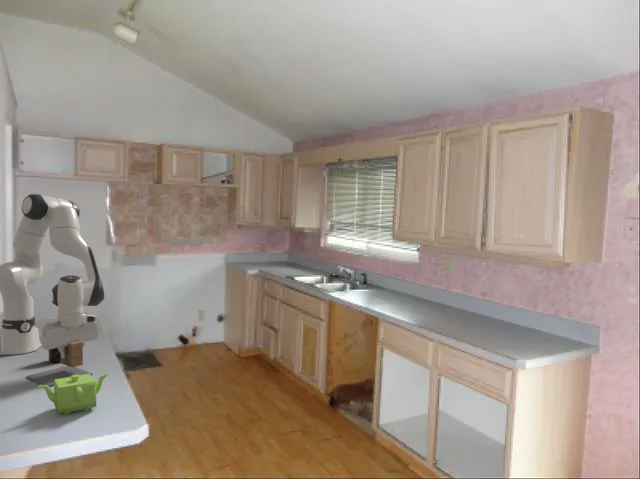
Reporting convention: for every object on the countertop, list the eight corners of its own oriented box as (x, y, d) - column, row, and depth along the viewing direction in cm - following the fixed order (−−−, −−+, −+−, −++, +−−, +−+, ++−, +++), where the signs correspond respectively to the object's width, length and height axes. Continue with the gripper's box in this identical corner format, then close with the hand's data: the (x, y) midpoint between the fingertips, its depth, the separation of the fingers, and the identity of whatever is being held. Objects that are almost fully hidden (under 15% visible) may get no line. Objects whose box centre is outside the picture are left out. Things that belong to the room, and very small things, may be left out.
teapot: (37, 416, 144) (37, 381, 144) (64, 399, 158) (64, 367, 157) (87, 419, 143) (86, 384, 143) (109, 402, 157) (109, 369, 156)
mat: (26, 377, 177) (26, 375, 177) (70, 366, 190) (69, 365, 190) (48, 387, 168) (48, 385, 168) (92, 375, 181) (92, 373, 181)
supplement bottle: (59, 363, 193) (59, 334, 193) (44, 362, 195) (44, 333, 194) (71, 358, 200) (71, 330, 199) (57, 357, 201) (56, 329, 201)
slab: (60, 363, 183) (60, 339, 183) (71, 360, 186) (70, 337, 186) (72, 367, 179) (71, 343, 178) (82, 364, 182) (82, 341, 181)
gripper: (46, 325, 171) (47, 364, 172) (100, 316, 188) (101, 351, 189) (37, 323, 175) (38, 361, 176) (91, 314, 192) (92, 348, 192)
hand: (71, 355), depth 182 cm, fingers closed on slab, 4 cm apart
